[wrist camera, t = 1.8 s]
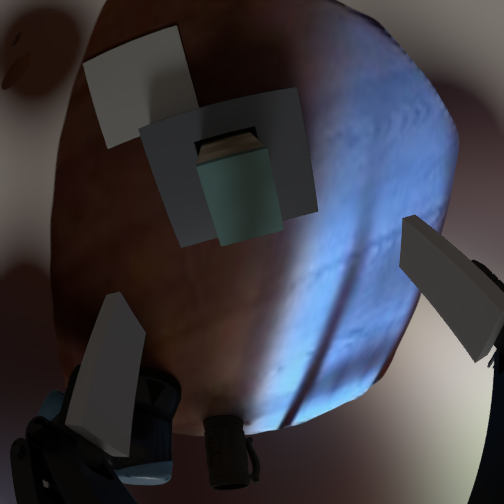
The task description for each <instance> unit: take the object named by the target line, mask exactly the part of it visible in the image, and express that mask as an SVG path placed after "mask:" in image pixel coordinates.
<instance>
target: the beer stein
mask: <svg viewBox="0 0 504 504" xmlns="http://www.w3.org/2000/svg"><path fill="white" fill-rule="evenodd" d="M204 429H205V433H204V435H205V447H206V455H207V465H208V470H209V484H210V486H211V488H212V489H215V490H234V489H242V488H245V487H248V486H249V485H250V481H252V482H253V483H258V482H260V480H259V473H260V463H259V459H258V457H257V454H256V452H255V450H254V449H253V446H252V442H253V438H252V437H248V438H246V437H245V434H244V431H243V421H242V420H241V419H240V418H238V417H235V416H215V417H211V418H209V419H207V420H206V421H205V422H204ZM246 449H247V450H246ZM247 451H248V453H249V456H250V459H251V462H252V467H253V472H252V474H249V473H248V457H247Z"/></svg>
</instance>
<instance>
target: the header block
mask: <svg viewBox="0 0 504 504" xmlns="http://www.w3.org/2000/svg"><path fill="white" fill-rule="evenodd" d="M249 127H250V131H251V134H252V135H253V136H255V137H256V138H257V139H258V140H259V141H260V142H261V143H262V144H263V145H264V146H265V147H266V148H267V150H268V155H269V159H270V164H271V168H272V173H273V178H274V182H275V187H276V192H277V197H278V202H279V207H280V212H281V217H282V221H283V220H287V219H290V218H294V217H298V216H302V215H306V214H310V213H314V212H318V206H317V199H316V191H315V185H314V178H313V171H312V165H311V159H310V153H309V147H308V142H307V136H306V130H305V125H304V120H303V115H302V110H301V105H300V100H299V95H298V91H297V87H293V88H284V89H278V90H272V91H267V92H262V93H257V94H252V95H247V96H243V97H238V98H234V99H230V100H226V101H222V102H218V103H214V104H211V105H207V106H203V107H200V108H196V109H193V110H190V111H186V112H183V113H180V114H177V115H174V116H171V117H168V118H165V119H162V120H159V121H156V122H153V123H151V124H148V125H146V126H143V127H141V128H139V129H138V130H139V133H140V136H141V139H142V143H143V146H144V149H145V152H146V155H147V158H148V161H149V164H150V166H151V169H152V172H153V175H154V178H155V181H156V184H157V186H158V189H159V192H160V195H161V197H162V200H163V203H164V205H165V208H166V211H167V213H168V216H169V219H170V221H171V224H172V226H173V229H174V232H175V234H176V237H177V239H178V242H179V244H180V247H181V248H182V247H185V246H189V245H193V244H196V243H200V242H204V241H207V240H211V239H215V238H218V235H217V232H216V229H215V226H214V223H213V220H212V216H211V213H210V210H209V207H208V204H207V201H206V197H205V194H204V191H203V188H202V185H201V181H200V178H199V175H198V172H197V168H196V165H197V161H198V157H199V153H200V149H201V147H200V143H199V141H200V140H203V139H207V138H210V137H214V136H217V135H221V134H225V133H229V132H233V131H237V130H241V129H245V128H249Z"/></svg>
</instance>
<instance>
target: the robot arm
mask: <svg viewBox="0 0 504 504" xmlns="http://www.w3.org/2000/svg"><path fill="white" fill-rule="evenodd" d="M399 267H400V268H401V269H402V270H403V271H404V273H405V274H406V275H407V276H408V277H409V278H410V279H411V281H412V282H413V283H414V284H415V285H416V286H417V288H418V289H419V290H420V291H421V292H422V294H423V295H424V296H425V297H426V298H427V299H428V301H429V302H430V303H431V305H432V306H433V307H434V308H435V309H436V311H437V312H438V313H439V314H440V316H441V317H442V318H443V320H444V321H445V322H446V324H447V325H448V326H449V327H450V329H451V330H452V331H453V333H454V334H455V335H456V337H457V338H458V340H459V341H460V342H461V344H462V345H463V346H464V348H465V349H466V350H467V352H468V353H469V355H470V356H471V358H472V359H473V360H474V362H475V363H476V362H477V361H479V360H480V359H482V358H483V357H485V356H486V355H488V353H489V352H490V350H491V348H492V346H493V344H494V346H495V347H496V348H497V350H496V352H495V353H494V355H493V356H492V358H491V360H490V361H489V363H488V367H490V366H491V365H492V363H493V361H494V366H493V368H494V378H493V391H492V401H491V409H490V416H489V423H488V429H487V435H486V440H485V445H484V449H483V453H482V457H481V462H480V465H479V469H478V473H477V476H476V480H475V483H474V486H473V489H472V492H471V495H470V498H469V501H468V503H467V504H504V284H503V282H501V281H500V280H498V278H497V277H496V276H495V275H494V274H492V272H491V271H490V270H489V269H488V268H487V267H486V266H485V265H483V264H481V263H479V262H478V261H476V260H472V261H470V260H469V259H468V258H467V257H466V256H465V255H464V254H463V253H462V252H460V251H459V250H458V249H457V248H456V247H455V246H453V245H452V244H451V243H450V242H449V241H448V240H446V239H445V238H444V237H443V236H442V235H440V234H439V233H438V232H437V231H435V230H434V229H433V228H432V227H430V226H429V225H428V224H427V223H425V222H424V221H423V220H421V219H420V218H419V217H418V216H416V215H412V216H408V217H405V218H403V219H402V238H401V252H400V263H399ZM145 335H146V333H145V331H144V330H143V328H142V326H141V325H140V323H139V322H138V320H137V319H136V317H135V316H134V314H133V312H132V311H131V309H130V307H129V306H128V304H127V303H126V301H125V299H124V298H123V296H122V294H121V292H116V293H112V294H108V295H106V297H105V300H104V302H103V305H102V307H101V310H100V312H99V315H98V318H97V320H96V323H95V326H94V328H93V331H92V334H91V337H90V340H89V342H88V345H87V348H86V351H85V354H84V357H83V360H82V363H81V365H77V366H76V368H75V369H74V371H73V372H72V374H71V376H70V379H69V382H68V388H67V389H66V392H65V394H64V393H62V392H60V391H56V390H55V391H52V392H50V393H49V394H48V396H47V397H46V399H45V401H44V403H43V405H42V407H41V409H40V411H39V414H38V416H37V417H35V418H33V419H32V420H31V421H30V422H29V424H28V426H27V428H26V433H25V434H26V439H24V438H18V439H17V440H15V441H14V442H13V444H12V447H11V450H10V458H11V468H12V477H13V484H14V490H15V496H16V500H17V504H137V502H136V501H135V499H134V498H133V497H132V496H131V494H130V493H129V491H128V490H127V489H126V488H125V486H124V485H123V483H127V484H135V485H157V484H163V483H166V482H168V481H169V480H170V479H171V473H172V464H173V461H172V420H173V417H174V415H175V413H176V410H177V408H178V406H179V403H180V401H181V387H180V385H179V383H178V382H177V381H176V380H175V379H174V378H172V377H171V376H169V375H167V374H165V373H163V372H160V371H157V370H154V369H149V368H143V367H140V363H141V357H142V351H143V345H144V340H145Z"/></svg>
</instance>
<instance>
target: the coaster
mask: <svg viewBox="0 0 504 504" xmlns="http://www.w3.org/2000/svg"><path fill="white" fill-rule="evenodd" d="M83 66H84V70H85V74H86V78H87V82H88V86H89V89H90V93H91V97H92V100H93V104H94V107H95V110H96V114H97V117H98V120H99V123H100V127H101V130H102V133H103V136H104V139H105V142H106V145H107V148H108V149H109V148H111V147H114V146H116V145H118V144H121V143H123V142H126V141H128V140H131V139H133V138H136V137H139V136H140V133H139V130H138V129H139V128H141V127H143V126H146V125H148V124H151V123H153V122H156V121H159V120H162V119H165V118H168V117H171V116H174V115H177V114H180V113H183V112H186V111H190V110H193V109H196V108H199V105H198V102H197V98H196V94H195V91H194V87H193V83H192V80H191V76H190V72H189V69H188V65H187V61H186V58H185V54H184V50H183V46H182V43H181V39H180V35H179V31H178V28H177V25H176V26H173V27H170V28H166V29H163V30H160V31H157V32H155V33H152V34H149V35H146V36H144V37H141V38H138V39H136V40H133V41H131V42H128V43H126V44H123V45H121V46H119V47H116V48H114V49H112V50H110V51H108V52H105V53H103V54H101V55H99V56H97V57H95V58H93V59H91V60H89V61H87V62H85V63H83Z"/></svg>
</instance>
